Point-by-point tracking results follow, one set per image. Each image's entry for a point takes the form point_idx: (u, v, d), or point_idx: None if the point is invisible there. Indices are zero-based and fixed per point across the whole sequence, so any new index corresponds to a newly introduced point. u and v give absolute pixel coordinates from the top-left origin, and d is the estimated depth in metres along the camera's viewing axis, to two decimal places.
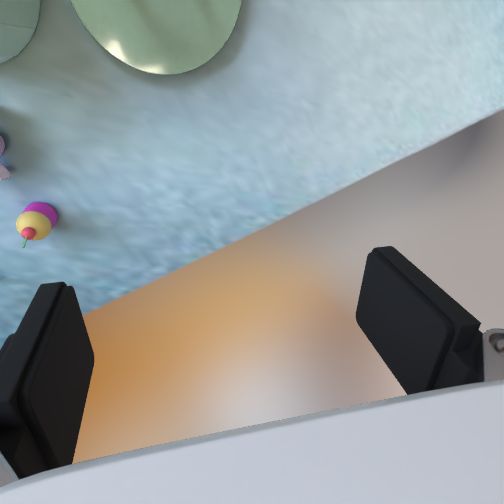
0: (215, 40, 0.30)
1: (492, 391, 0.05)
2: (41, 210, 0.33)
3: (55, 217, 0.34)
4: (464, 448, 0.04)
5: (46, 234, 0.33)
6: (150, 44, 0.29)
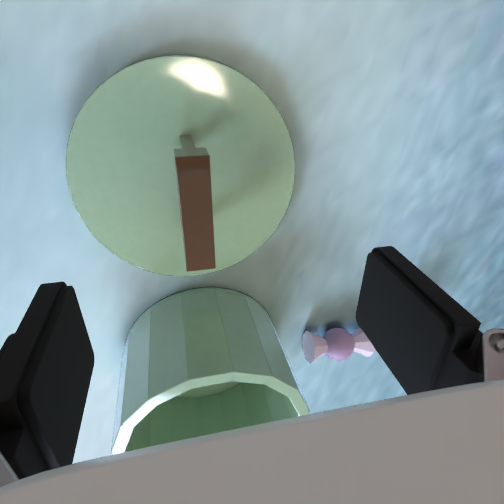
0: (257, 104, 0.20)
1: (492, 391, 0.05)
2: None
3: None
4: (464, 448, 0.04)
5: None
6: (261, 194, 0.23)
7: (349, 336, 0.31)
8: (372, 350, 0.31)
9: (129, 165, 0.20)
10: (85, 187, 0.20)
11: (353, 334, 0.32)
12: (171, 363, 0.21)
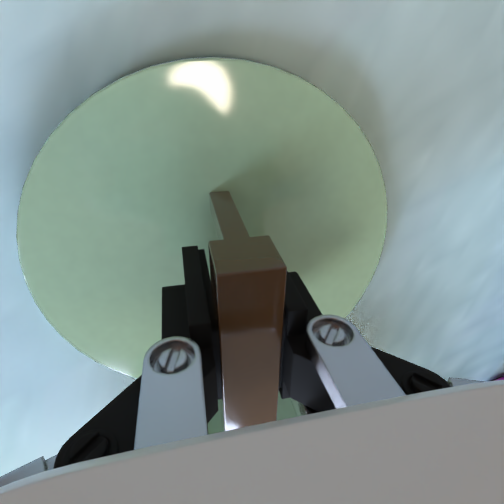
0: (340, 140, 0.12)
1: (492, 391, 0.05)
2: None
3: None
4: (464, 448, 0.04)
5: None
6: (330, 272, 0.15)
7: None
8: None
9: (125, 240, 0.12)
10: (52, 276, 0.12)
11: None
12: None
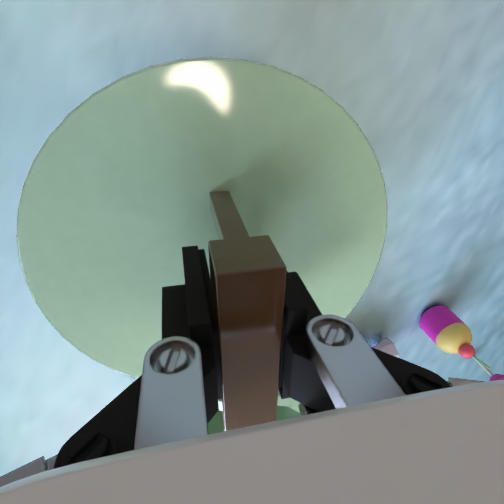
0: (340, 140, 0.12)
1: (492, 391, 0.05)
2: (437, 326, 0.29)
3: (444, 310, 0.30)
4: (464, 448, 0.04)
5: (469, 330, 0.28)
6: (330, 272, 0.15)
7: None
8: None
9: (125, 240, 0.12)
10: (52, 276, 0.12)
11: (375, 347, 0.30)
12: None
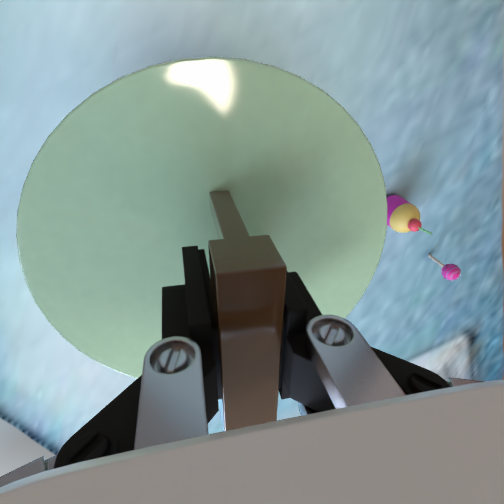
0: (340, 139, 0.12)
1: (492, 391, 0.05)
2: (390, 208, 0.33)
3: (397, 197, 0.34)
4: (464, 448, 0.04)
5: (417, 209, 0.32)
6: (330, 271, 0.15)
7: None
8: None
9: (125, 240, 0.12)
10: (52, 276, 0.12)
11: None
12: None
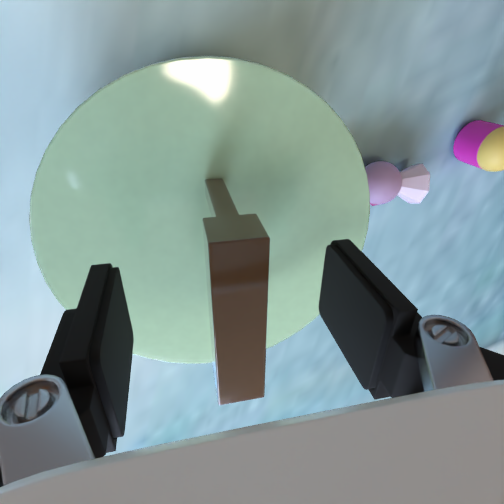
0: (324, 132, 0.13)
1: (492, 391, 0.05)
2: (478, 135, 0.23)
3: None
4: (464, 448, 0.04)
5: None
6: (318, 255, 0.16)
7: None
8: (426, 188, 0.23)
9: (128, 224, 0.13)
10: (61, 256, 0.13)
11: None
12: None
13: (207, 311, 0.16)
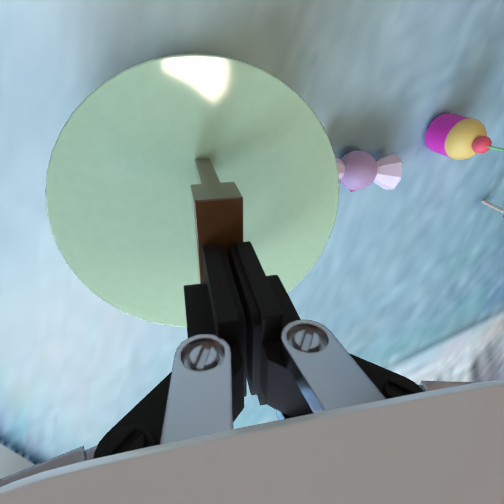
0: (296, 118, 0.15)
1: (492, 391, 0.05)
2: (446, 127, 0.25)
3: (453, 114, 0.26)
4: (464, 448, 0.04)
5: (483, 126, 0.24)
6: (295, 229, 0.18)
7: (371, 156, 0.25)
8: (399, 174, 0.25)
9: (129, 197, 0.15)
10: (72, 226, 0.15)
11: (375, 161, 0.26)
12: None
13: (198, 278, 0.18)
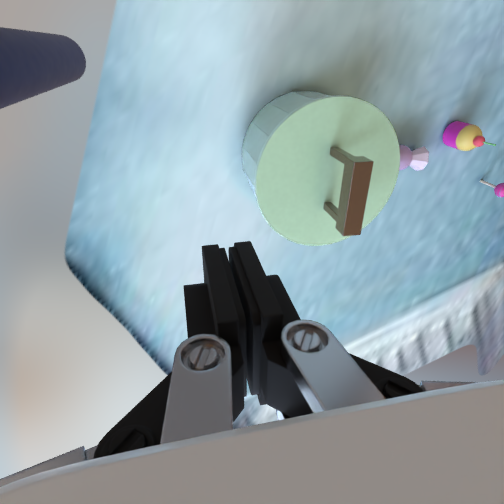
0: (382, 126, 0.30)
1: (492, 391, 0.05)
2: (456, 130, 0.39)
3: (461, 122, 0.40)
4: (464, 448, 0.04)
5: (480, 129, 0.39)
6: (374, 187, 0.33)
7: None
8: (426, 160, 0.40)
9: (295, 166, 0.30)
10: (266, 181, 0.30)
11: None
12: (303, 104, 0.30)
13: (319, 214, 0.33)
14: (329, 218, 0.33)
